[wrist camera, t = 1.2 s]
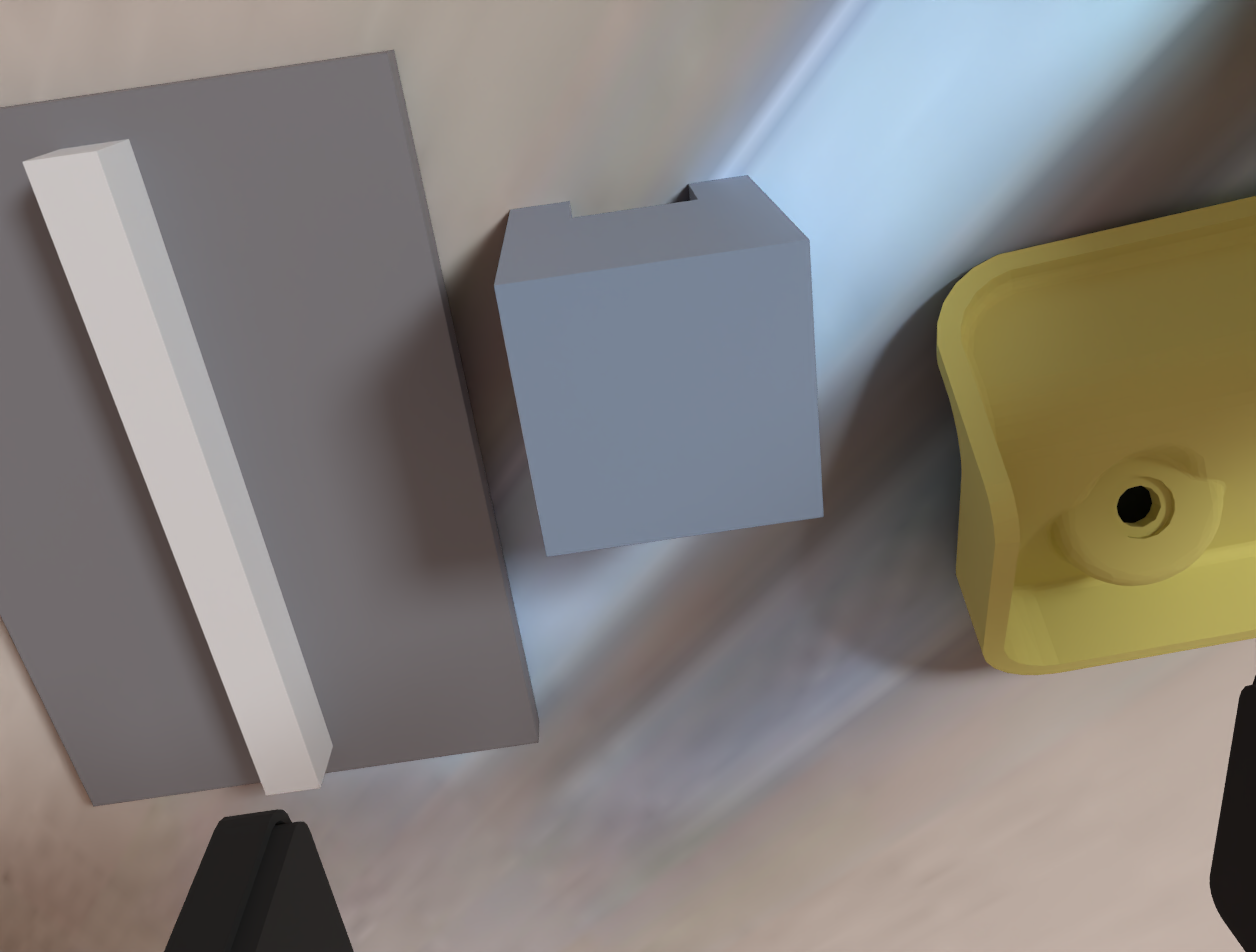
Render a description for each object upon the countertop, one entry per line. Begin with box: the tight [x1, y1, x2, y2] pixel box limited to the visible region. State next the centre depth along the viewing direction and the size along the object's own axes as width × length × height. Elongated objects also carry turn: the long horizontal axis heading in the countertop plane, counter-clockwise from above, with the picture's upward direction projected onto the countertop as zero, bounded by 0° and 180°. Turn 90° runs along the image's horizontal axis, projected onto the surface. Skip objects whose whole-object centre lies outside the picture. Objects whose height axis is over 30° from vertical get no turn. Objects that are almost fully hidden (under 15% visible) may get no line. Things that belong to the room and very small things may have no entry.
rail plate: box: [0, 50, 539, 806], centre depth 27 cm, size 20×14×3 cm
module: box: [494, 175, 824, 557], centre depth 24 cm, size 6×6×7 cm
